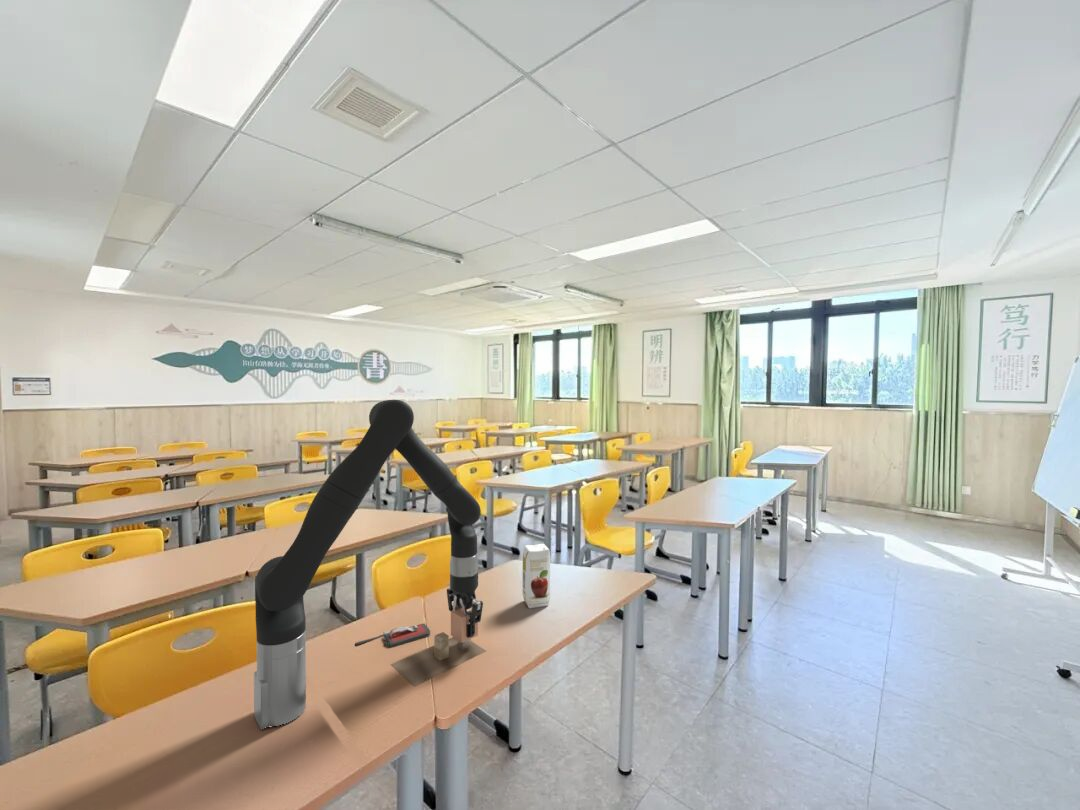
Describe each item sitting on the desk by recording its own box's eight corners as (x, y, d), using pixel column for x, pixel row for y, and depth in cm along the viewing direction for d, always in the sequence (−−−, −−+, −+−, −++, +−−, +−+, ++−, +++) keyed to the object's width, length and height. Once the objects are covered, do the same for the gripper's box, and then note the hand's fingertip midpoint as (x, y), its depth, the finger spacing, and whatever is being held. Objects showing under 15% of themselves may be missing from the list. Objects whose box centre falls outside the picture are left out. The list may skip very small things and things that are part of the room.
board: (414, 692, 104) (414, 663, 104) (390, 670, 112) (390, 642, 112) (486, 656, 119) (486, 630, 119) (460, 639, 127) (460, 614, 127)
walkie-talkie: (424, 627, 134) (353, 648, 123) (424, 613, 134) (353, 632, 123) (435, 641, 127) (360, 663, 116) (435, 625, 127) (360, 646, 116)
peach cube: (461, 642, 117) (461, 617, 117) (450, 635, 121) (450, 611, 121) (477, 635, 121) (477, 611, 121) (466, 628, 125) (466, 604, 124)
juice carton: (520, 600, 152) (521, 544, 152) (544, 596, 155) (545, 542, 154) (526, 610, 145) (527, 552, 144) (552, 606, 147) (552, 549, 147)
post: (462, 650, 119) (462, 629, 119) (457, 646, 121) (457, 626, 121) (470, 646, 121) (470, 626, 121) (465, 642, 123) (465, 622, 123)
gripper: (437, 566, 123) (437, 627, 123) (468, 582, 113) (468, 648, 113) (460, 559, 128) (460, 618, 129) (491, 573, 118) (491, 637, 118)
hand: (464, 632), depth 121 cm, fingers closed on peach cube, 5 cm apart
